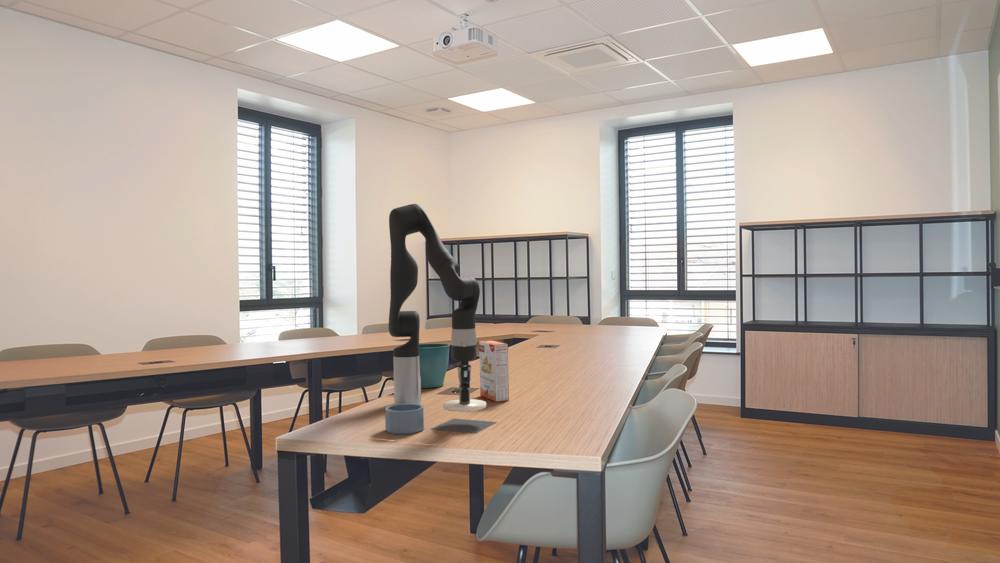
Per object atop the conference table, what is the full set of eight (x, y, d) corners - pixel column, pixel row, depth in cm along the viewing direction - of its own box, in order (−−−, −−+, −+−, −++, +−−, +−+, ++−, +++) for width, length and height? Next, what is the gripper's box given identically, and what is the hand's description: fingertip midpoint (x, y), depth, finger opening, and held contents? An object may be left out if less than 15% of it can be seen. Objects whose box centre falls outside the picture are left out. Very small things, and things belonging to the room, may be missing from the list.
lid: (455, 401, 203) (454, 380, 203) (493, 403, 198) (492, 382, 198) (435, 409, 191) (435, 387, 191) (475, 412, 186) (475, 390, 186)
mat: (453, 419, 204) (453, 418, 204) (497, 423, 198) (497, 422, 198) (430, 430, 190) (430, 429, 190) (475, 434, 184) (475, 433, 184)
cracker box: (479, 396, 243) (478, 340, 243) (493, 394, 246) (492, 340, 246) (494, 402, 231) (493, 344, 230) (509, 401, 233) (508, 343, 233)
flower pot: (398, 386, 268) (397, 345, 268) (433, 381, 280) (432, 342, 280) (423, 391, 255) (423, 348, 255) (459, 385, 267) (458, 344, 267)
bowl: (399, 425, 197) (398, 402, 197) (430, 428, 192) (430, 405, 192) (378, 434, 187) (378, 409, 187) (411, 437, 182) (410, 412, 182)
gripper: (450, 341, 200) (451, 396, 201) (452, 346, 186) (453, 405, 187) (474, 340, 201) (475, 395, 202) (478, 345, 187) (479, 404, 188)
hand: (464, 400), depth 194 cm, fingers closed on lid, 3 cm apart
